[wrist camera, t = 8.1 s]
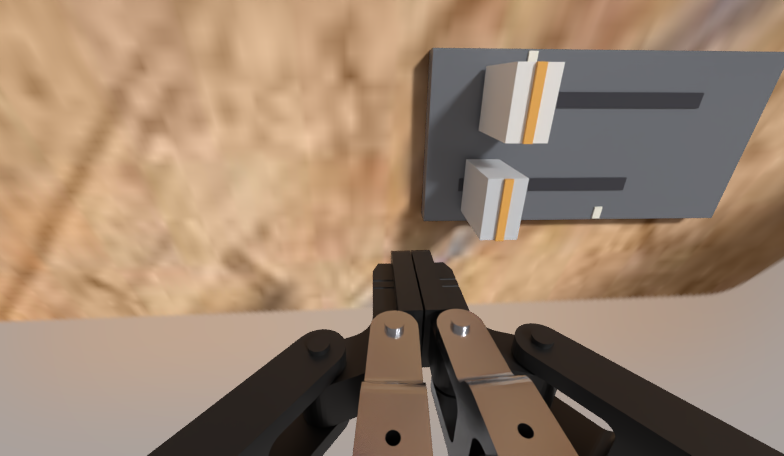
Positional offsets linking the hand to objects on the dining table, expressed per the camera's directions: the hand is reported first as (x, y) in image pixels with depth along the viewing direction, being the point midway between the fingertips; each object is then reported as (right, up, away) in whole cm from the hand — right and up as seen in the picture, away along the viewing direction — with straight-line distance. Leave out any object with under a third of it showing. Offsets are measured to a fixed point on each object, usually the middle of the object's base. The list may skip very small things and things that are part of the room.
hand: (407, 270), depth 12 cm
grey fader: (+6, +5, +11) cm, 14 cm away
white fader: (+7, +10, +9) cm, 15 cm away
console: (+14, +8, +12) cm, 20 cm away
